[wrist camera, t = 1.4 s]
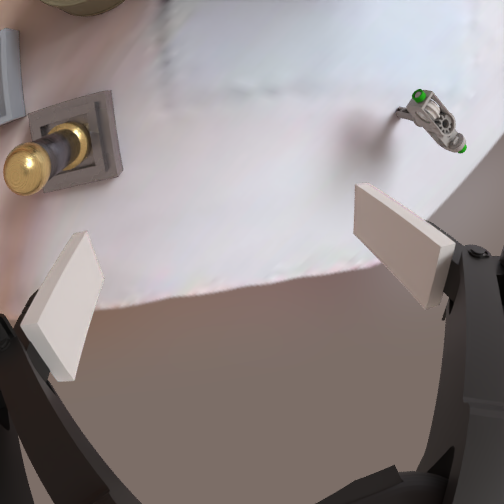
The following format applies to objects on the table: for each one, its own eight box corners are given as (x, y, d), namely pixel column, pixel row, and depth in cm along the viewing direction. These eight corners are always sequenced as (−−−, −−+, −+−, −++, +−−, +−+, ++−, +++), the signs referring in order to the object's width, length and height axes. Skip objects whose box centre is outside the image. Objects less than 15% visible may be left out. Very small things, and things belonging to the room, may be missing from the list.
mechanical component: (415, 141, 40) (461, 159, 32) (370, 96, 36) (416, 104, 27) (425, 126, 39) (472, 141, 31) (381, 80, 35) (428, 85, 26)
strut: (47, 127, 28) (-16, 153, 17) (87, 116, 29) (34, 135, 17) (55, 170, 31) (0, 214, 19) (94, 160, 31) (49, 201, 20)
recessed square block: (38, 111, 29) (23, 115, 26) (111, 90, 30) (101, 90, 27) (53, 185, 34) (40, 196, 31) (123, 170, 35) (115, 179, 32)
